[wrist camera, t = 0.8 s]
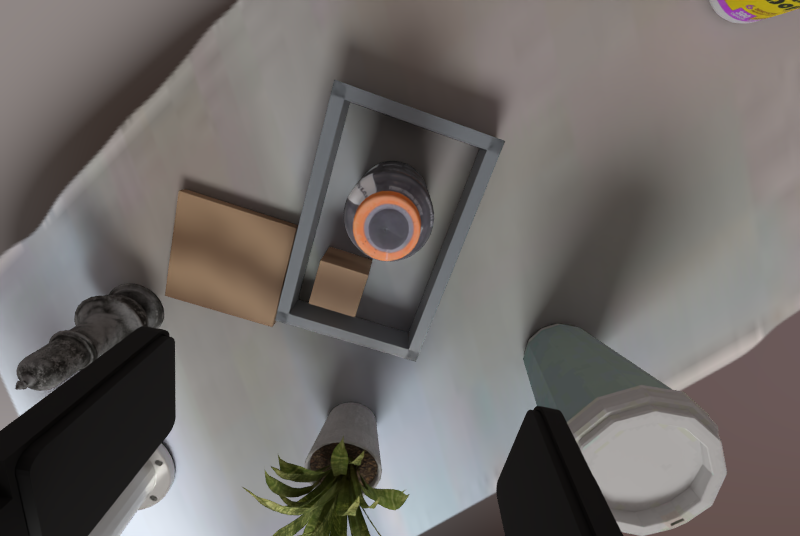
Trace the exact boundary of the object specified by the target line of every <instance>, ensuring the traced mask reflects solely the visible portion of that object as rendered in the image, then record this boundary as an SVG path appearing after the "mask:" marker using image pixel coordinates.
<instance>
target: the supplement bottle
mask: <svg viewBox="0 0 800 536" xmlns="http://www.w3.org/2000/svg"><path fill="white" fill-rule="evenodd" d="M709 1H710V4H711V6H712V8H713V9H714V11H715V12H716V13H717V14H718V15H719V16H720V17H722V18H723V19H725V20H727V21H730V22H734V23H751V22H755V21H759V20H763V19H766V18H770V17H773V16H776V15H780V14H783V13H786V12H789V11H793V10H796V9H799V8H800V0H709Z"/></svg>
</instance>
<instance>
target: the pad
mask: <svg viewBox="0 0 800 536" xmlns="http://www.w3.org/2000/svg"><path fill="white" fill-rule="evenodd" d="M297 229H298V225H296V224H293V223H290V222H287V221H283V220H280V219H277V218H274V217H271V216H268V215H265V214H262V213H258V212H255V211H252V210H249V209H246V208H243V207H240V206H237V205H233V204H230V203H227V202H224V201H221V200H218V199H215V198H212V197H208V196H205V195H202V194H199V193H196V192H193V191H190V190H187V189H184V190H180V191H179V194H178V201H177V209H176V216H175V224H174V232H173V239H172V247H171V254H170V262H169V269H168V277H167V284H166V292H165V296H168V297H172V298H175V299H178V300H182V301H185V302H189V303H192V304H196V305H199V306H202V307H206V308H209V309H213V310H216V311H219V312H223V313H226V314H230V315H233V316H237V317H240V318H243V319H247V320H250V321H254V322H257V323H260V324H264V325H267V326H271V327H273V325H274V324H275V322H276V321H275V319H276V314H277V310H278V306H279V302H280V298H281V294H282V290H283V286H284V282H285V278H286V274H287V270H288V266H289V262H290V258H291V254H292V250H293V246H294V241H295V237H296V233H297Z"/></svg>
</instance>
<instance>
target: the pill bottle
mask: <svg viewBox="0 0 800 536" xmlns="http://www.w3.org/2000/svg"><path fill="white" fill-rule="evenodd" d="M433 223H434V211H433V205H432V202H431V199H430V196H429V192H428V189H427V186H426V184H425V182H424V180H423V178H422V176H421V175H420V174H419V173H418V172H417V171H416V170H415V169H414V168H412V167H411V166H409V165H407V164H405V163H401V162H397V161H387V162H383V163H379V164H378V165H376V166H374V167H372V168H371V169H370V170H369V171H368V172H367V173H366V174H365V175H364V176H363V177H362V178H361V180H360V181H359V182H358V183H357V184H356V186H355V187H354V188H353V190H352V191H351V193H350V194H349V196H348V198H347V200H346V203H345V208H344V224H345V228H346V231H347V234H348V236H349V238H350V240H351V241H352V242H353V244H354V245H355V246H356V247H357V248H358V249H359V250H360V251H361V252H363V253H364V254H366V255H367V256H369V257H371V258H374V259H377V260H381V261H398V260H402V259H405V258H407V257H410V256H412V255H413V254H415V253H416V252H417V251H419V250H420V249H421V248H422V247H423V246H424V244H425V243H426V241H427V240H428V238H429V236H430V234H431V231H432V228H433Z"/></svg>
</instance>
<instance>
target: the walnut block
mask: <svg viewBox="0 0 800 536" xmlns="http://www.w3.org/2000/svg"><path fill="white" fill-rule="evenodd" d="M371 263H372V260H371V259H368V258H365V257H362V256H359V255H356V254H352V253H349V252H346V251H343V250H340V249H337V248H333V247H329V248H328V250H327V251H326V253H325V254H324V256H323V257H322V259H321V260H320V264H319V267H318V271H317V275H316V278H315V282H314V286H313V289H312V293H311V296H310V300H309V304H312V305H315V306H319V307H322V308H325V309H329V310H332V311H335V312H339V313H342V314H345V315H349V316H352V317H355V315H356V312H357V309H358V306H359V303H360V299H361V296H362V293H363V290H364V287H365V284H366V281H367V278H368V275H369V271H370V267H371Z"/></svg>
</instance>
